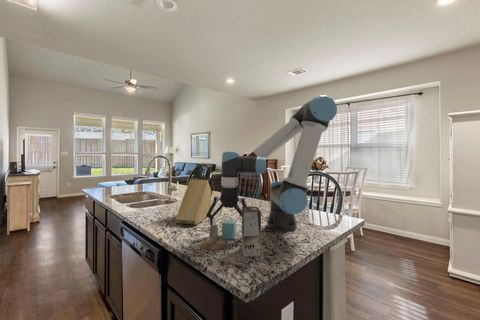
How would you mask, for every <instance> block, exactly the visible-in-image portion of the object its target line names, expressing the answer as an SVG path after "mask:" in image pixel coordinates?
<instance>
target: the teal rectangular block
mask: <svg viewBox="0 0 480 320" xmlns="http://www.w3.org/2000/svg"><path fill="white" fill-rule="evenodd" d="M236 236H237V220H232V219H224V220H223V222H222V223H221V239H228V240H234V239H235V238H236Z"/></svg>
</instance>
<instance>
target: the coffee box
mask: <svg viewBox="0 0 480 320" xmlns="http://www.w3.org/2000/svg"><path fill="white" fill-rule="evenodd" d="M241 210H242V217H241V252H242V256H243V257H246V258H247V257H250V258H251V257H260V256H261V247H262V246H261V245H262V244H261V240H262V239H261V238H262V236H261V235H262V233H261V232H262V231H261V229H262V227H261V226H262V211H261V210H260V209H259V207H258V206H247V207H243V206H242V207H241Z"/></svg>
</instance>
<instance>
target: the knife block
mask: <svg viewBox="0 0 480 320" xmlns="http://www.w3.org/2000/svg"><path fill="white" fill-rule="evenodd" d="M212 169H213V168H212V166H208V167H207V170H206V173H205V177H204V176H203V174H204V173H203V172H204V171H205V169H204V167H203V163H199V164H198V165H197V166H196V168H195V170H194V174H193V177H192V179H189V181H188V185H187V186H186V189H185V192H184V195H183V197H182V200H181V203H180V205H179V208H178V212H177V214H176V216H175V221H176V223H177V224H188V225H194V226H196V225H198V224H200V222H202V221H203V220H205V218H206V215H207V213H208V211H209V209H210V207H211V205H212V204H211V201H212V200H211V199H212V194H213V193H214V189H215V185H214V179H215V177H214V176H211V174H212ZM210 176H211V177H210Z"/></svg>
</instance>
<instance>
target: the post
mask: <svg viewBox="0 0 480 320" xmlns="http://www.w3.org/2000/svg"><path fill="white" fill-rule="evenodd" d="M218 230H219V228H218V225H215V226H213V225H211V226H209V233H208V235H209V238H208V239H204V240H203V241H201V242H200V248H201V249H202V250H206V251H220V250H222V249H225V248H226V246H227V242H226V241H225V240H223V239H222V238H218V234H219V233H218Z"/></svg>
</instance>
